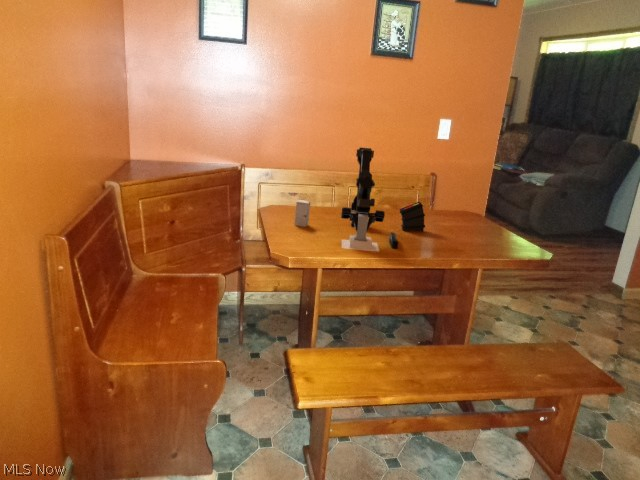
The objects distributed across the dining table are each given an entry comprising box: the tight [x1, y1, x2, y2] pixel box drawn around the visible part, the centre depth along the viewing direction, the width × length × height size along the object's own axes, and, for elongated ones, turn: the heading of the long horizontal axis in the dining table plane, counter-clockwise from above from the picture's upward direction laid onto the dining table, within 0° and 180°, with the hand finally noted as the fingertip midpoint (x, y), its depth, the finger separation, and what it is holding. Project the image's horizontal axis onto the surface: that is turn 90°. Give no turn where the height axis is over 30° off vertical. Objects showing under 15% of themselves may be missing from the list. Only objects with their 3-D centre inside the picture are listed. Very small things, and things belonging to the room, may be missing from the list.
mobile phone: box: [388, 231, 399, 250], centre depth 209 cm, size 5×3×15 cm
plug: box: [355, 214, 369, 241], centre depth 201 cm, size 4×4×13 cm
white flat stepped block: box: [341, 234, 380, 252], centre depth 203 cm, size 16×12×4 cm
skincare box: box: [294, 199, 311, 228], centre depth 227 cm, size 6×4×12 cm
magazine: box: [399, 201, 426, 233], centre depth 234 cm, size 4×13×15 cm, turn 95°
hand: (361, 231), depth 200 cm, fingers closed on plug, 4 cm apart
